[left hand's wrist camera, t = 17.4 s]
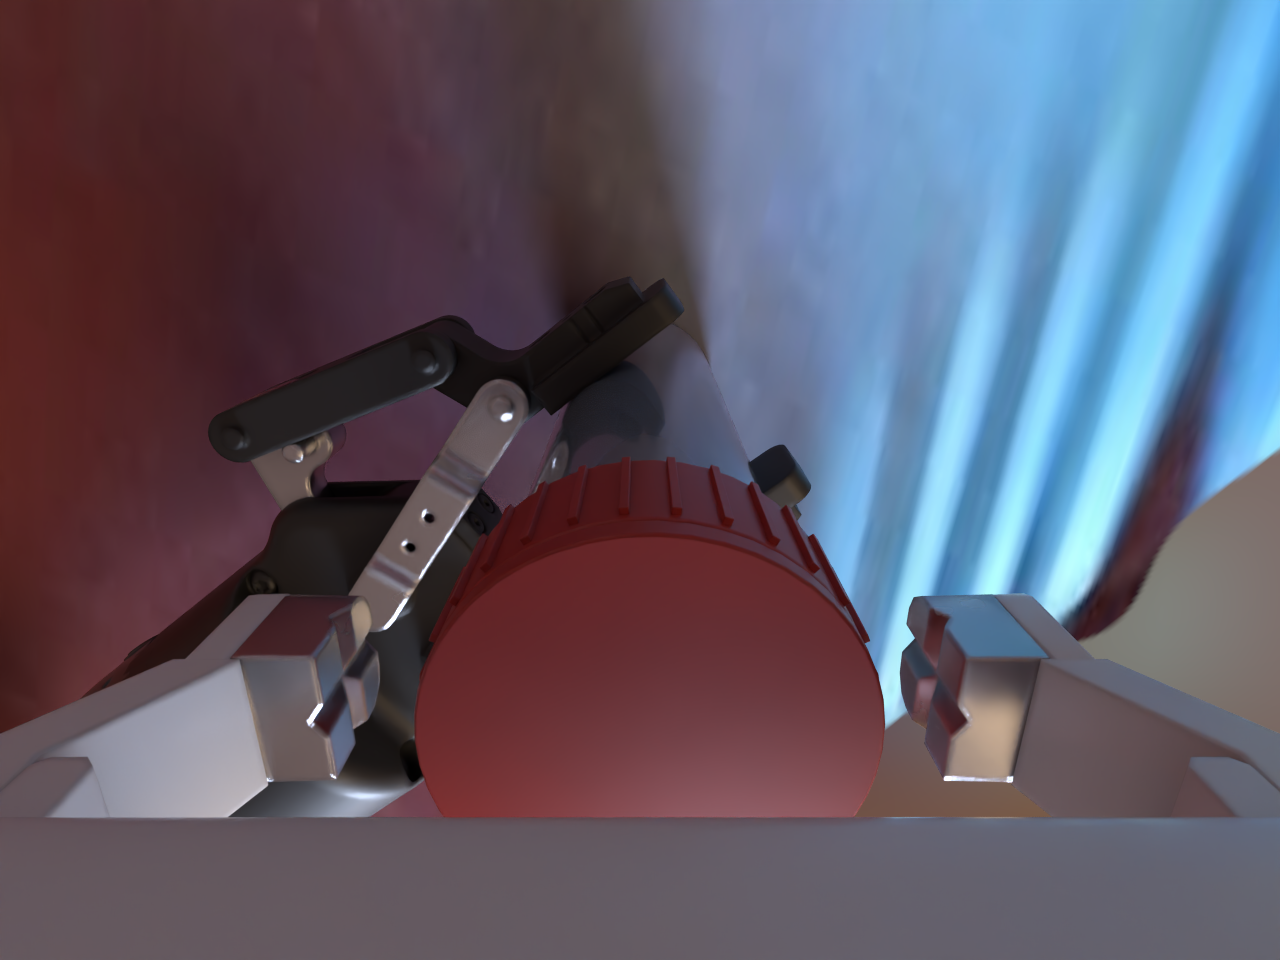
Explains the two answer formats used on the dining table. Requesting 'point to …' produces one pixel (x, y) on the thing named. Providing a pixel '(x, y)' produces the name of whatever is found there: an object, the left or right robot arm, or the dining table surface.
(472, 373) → the right robot arm
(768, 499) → the lid
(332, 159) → the dining table surface
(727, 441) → the bottle
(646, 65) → the dining table surface
